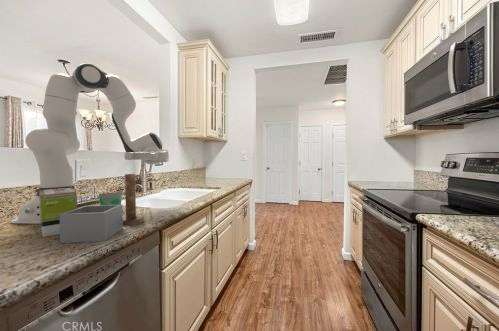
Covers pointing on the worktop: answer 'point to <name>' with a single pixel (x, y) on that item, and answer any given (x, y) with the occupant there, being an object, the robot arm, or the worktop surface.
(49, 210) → the tea box
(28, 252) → the worktop surface
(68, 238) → the gray open-top rectangular bin
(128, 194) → the brown wooden post
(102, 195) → the food container
